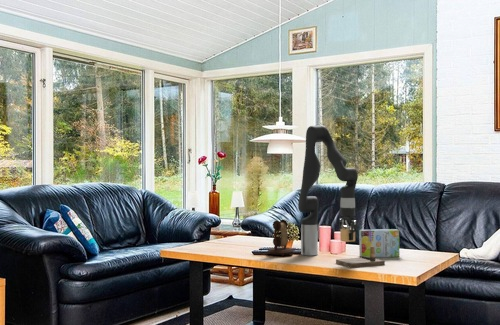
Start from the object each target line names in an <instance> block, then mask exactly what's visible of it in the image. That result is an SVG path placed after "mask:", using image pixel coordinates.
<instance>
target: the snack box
mask: <svg viewBox="0 0 500 325" xmlns="http://www.w3.org/2000/svg"><path fill="white" fill-rule="evenodd" d="M358 235H359V236H358V240H359V241H358V242H359V243H358V244H359V256H360V257H361V256H366V257H370V246H374V247H375V258H398V257H400V229H398V228H397V229H395V228H391V229H390V228H389V229H388V228H385V229H384V228H382V229H381V228H380V229H379V228H377V229H359V232H358Z"/></svg>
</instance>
